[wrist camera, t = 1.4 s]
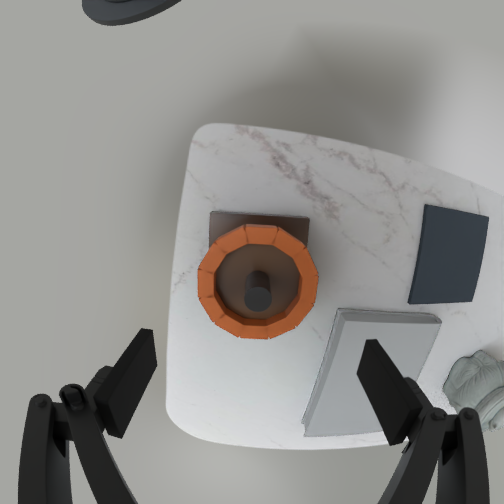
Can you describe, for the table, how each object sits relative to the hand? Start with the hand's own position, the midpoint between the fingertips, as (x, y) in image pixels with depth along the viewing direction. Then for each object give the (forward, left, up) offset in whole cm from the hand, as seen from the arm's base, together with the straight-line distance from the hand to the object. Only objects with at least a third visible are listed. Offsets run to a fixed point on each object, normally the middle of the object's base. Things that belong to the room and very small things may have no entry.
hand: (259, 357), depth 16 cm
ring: (0, 0, -13) cm, 13 cm away
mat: (-2, +31, -21) cm, 37 cm away
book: (+19, +20, -21) cm, 35 cm away
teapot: (+22, +48, -21) cm, 57 cm away
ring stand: (0, 0, -21) cm, 21 cm away
